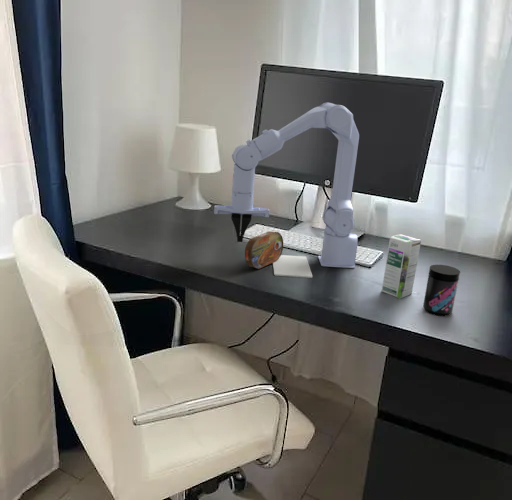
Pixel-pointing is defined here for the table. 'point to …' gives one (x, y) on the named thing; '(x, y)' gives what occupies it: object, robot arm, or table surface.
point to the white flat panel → (292, 266)
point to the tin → (263, 249)
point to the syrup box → (401, 265)
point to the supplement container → (441, 290)
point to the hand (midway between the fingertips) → (239, 240)
